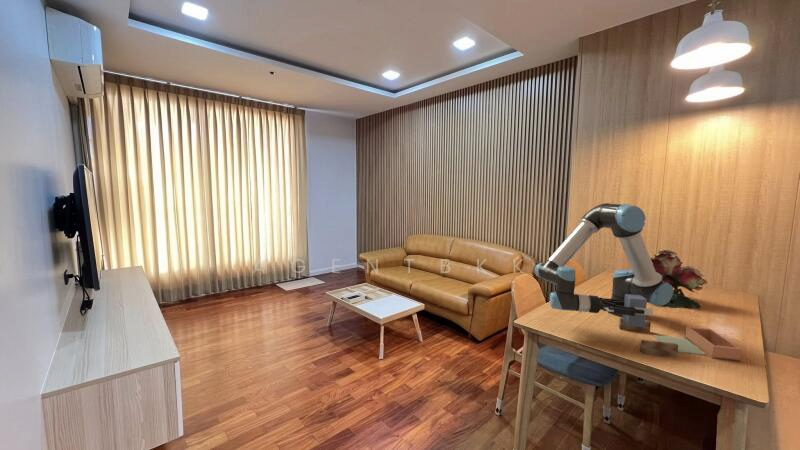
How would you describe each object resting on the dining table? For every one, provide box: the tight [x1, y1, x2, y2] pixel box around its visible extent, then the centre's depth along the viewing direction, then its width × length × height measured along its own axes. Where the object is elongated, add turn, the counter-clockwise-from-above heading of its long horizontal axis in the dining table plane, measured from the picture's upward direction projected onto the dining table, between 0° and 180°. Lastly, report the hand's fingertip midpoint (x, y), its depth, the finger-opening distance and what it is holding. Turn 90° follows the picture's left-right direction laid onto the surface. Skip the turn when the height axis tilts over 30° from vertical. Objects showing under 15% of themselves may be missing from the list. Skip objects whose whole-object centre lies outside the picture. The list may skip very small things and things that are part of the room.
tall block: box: [622, 294, 648, 327], centre depth 140 cm, size 6×6×12 cm
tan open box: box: [685, 326, 742, 362], centre depth 135 cm, size 9×18×5 cm, turn 165°
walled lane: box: [618, 317, 679, 358], centre depth 141 cm, size 12×24×5 cm, turn 165°
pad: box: [653, 334, 707, 356], centre depth 138 cm, size 12×14×1 cm
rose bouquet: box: [650, 249, 708, 309], centre depth 190 cm, size 26×29×30 cm
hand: (648, 309), depth 138 cm, fingers closed on tall block, 6 cm apart
